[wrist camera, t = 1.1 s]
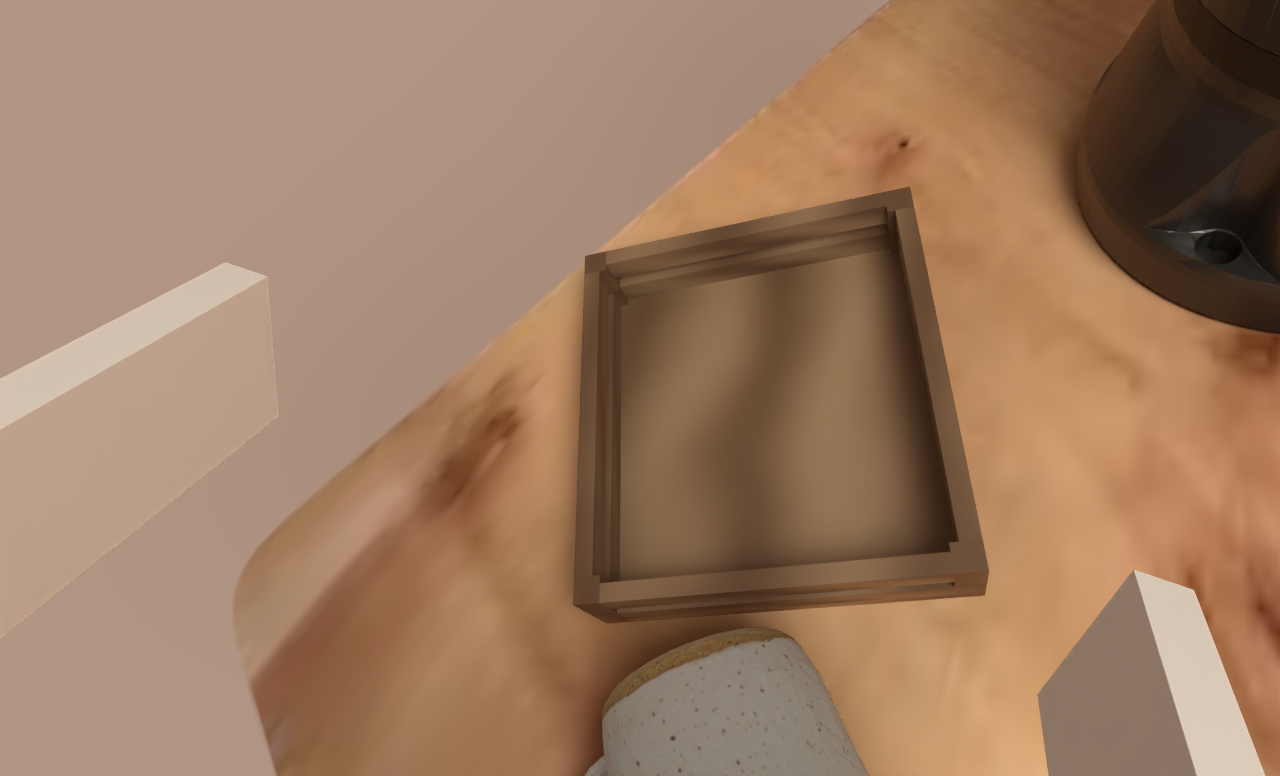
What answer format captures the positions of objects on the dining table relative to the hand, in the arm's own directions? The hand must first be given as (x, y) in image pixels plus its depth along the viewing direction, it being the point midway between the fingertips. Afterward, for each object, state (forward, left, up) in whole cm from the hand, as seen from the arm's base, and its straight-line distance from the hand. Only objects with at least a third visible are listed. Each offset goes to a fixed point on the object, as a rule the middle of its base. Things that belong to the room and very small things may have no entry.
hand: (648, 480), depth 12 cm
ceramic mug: (+3, +5, -20) cm, 21 cm away
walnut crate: (+1, -10, -19) cm, 22 cm away
